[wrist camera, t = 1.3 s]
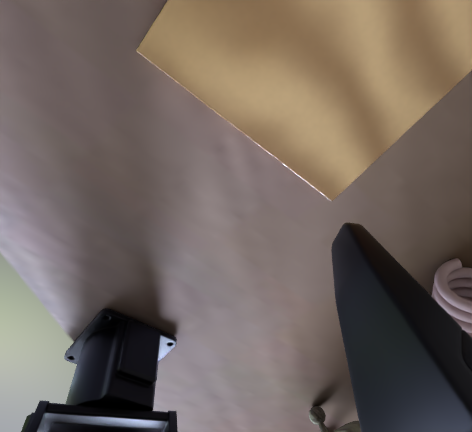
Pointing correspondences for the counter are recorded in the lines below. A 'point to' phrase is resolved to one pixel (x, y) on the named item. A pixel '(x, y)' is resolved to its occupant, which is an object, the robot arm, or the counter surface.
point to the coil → (455, 292)
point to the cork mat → (316, 72)
